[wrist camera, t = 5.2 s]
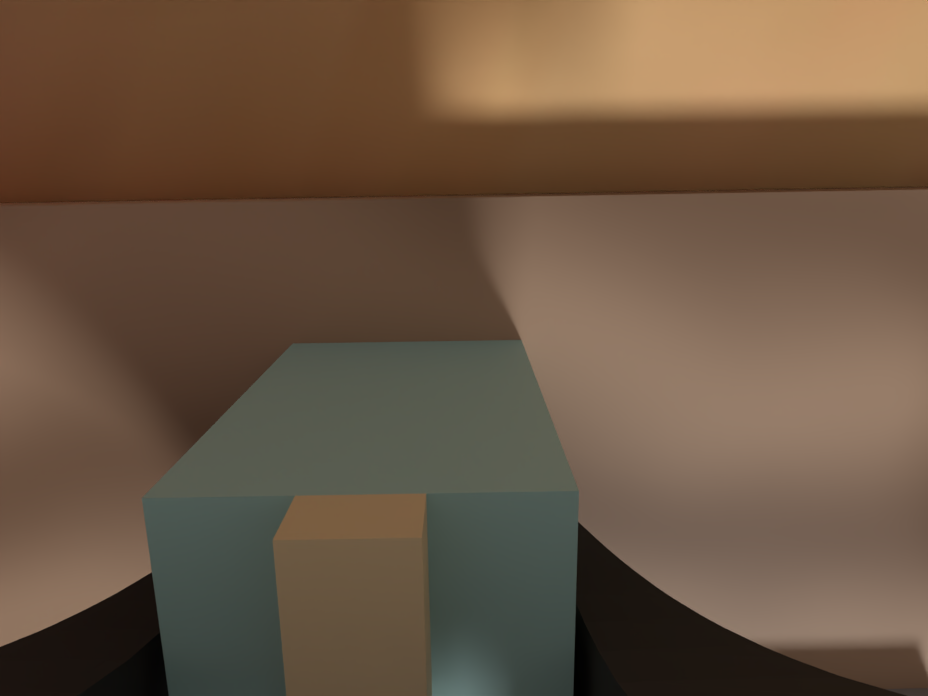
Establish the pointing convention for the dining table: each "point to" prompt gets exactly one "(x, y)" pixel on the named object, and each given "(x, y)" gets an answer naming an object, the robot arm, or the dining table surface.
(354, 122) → the dining table surface
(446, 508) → the teal and beige block
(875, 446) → the board
